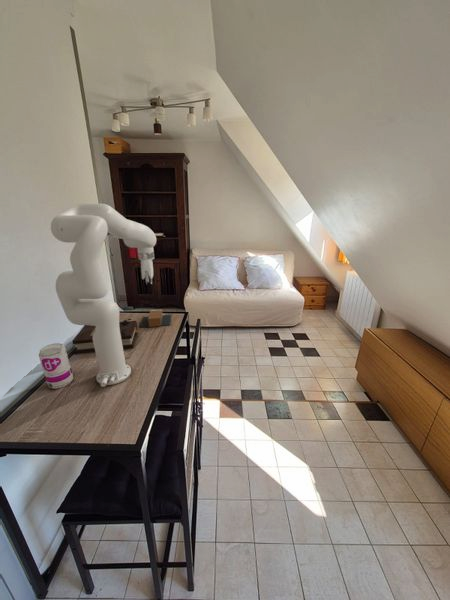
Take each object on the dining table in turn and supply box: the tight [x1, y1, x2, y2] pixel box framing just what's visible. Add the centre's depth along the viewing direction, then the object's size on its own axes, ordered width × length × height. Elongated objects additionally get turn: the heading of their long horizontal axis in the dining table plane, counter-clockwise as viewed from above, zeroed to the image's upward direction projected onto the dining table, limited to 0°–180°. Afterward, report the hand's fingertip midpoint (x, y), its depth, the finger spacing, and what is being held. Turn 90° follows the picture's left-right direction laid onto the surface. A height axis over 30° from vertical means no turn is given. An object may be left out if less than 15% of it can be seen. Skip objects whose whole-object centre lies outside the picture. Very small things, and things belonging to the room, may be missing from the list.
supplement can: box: [38, 342, 74, 390], centre depth 92 cm, size 8×8×15 cm
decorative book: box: [71, 318, 142, 355], centre depth 122 cm, size 19×8×30 cm
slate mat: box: [139, 314, 171, 329], centre depth 146 cm, size 14×16×1 cm
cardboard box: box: [147, 309, 163, 328], centre depth 143 cm, size 5×7×12 cm
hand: (150, 291), depth 130 cm, fingers closed
